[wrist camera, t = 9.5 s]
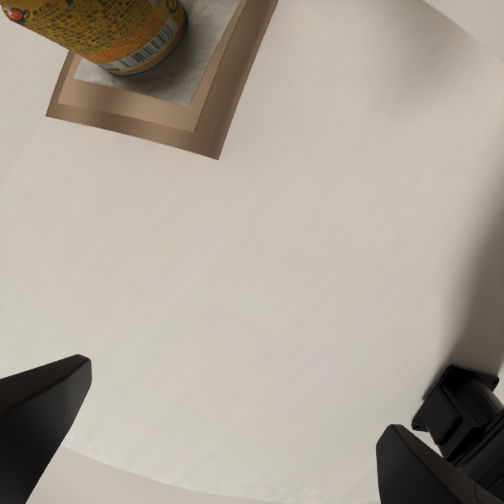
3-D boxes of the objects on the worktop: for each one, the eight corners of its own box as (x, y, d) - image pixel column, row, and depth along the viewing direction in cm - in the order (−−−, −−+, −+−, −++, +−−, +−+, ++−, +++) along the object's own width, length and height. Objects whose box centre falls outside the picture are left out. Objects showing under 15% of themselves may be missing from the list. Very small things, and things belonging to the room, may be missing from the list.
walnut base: (277, 1, 17) (276, -24, 14) (218, 159, 19) (205, 155, 16) (128, -15, 17) (110, -34, 14) (70, 121, 20) (43, 115, 17)
